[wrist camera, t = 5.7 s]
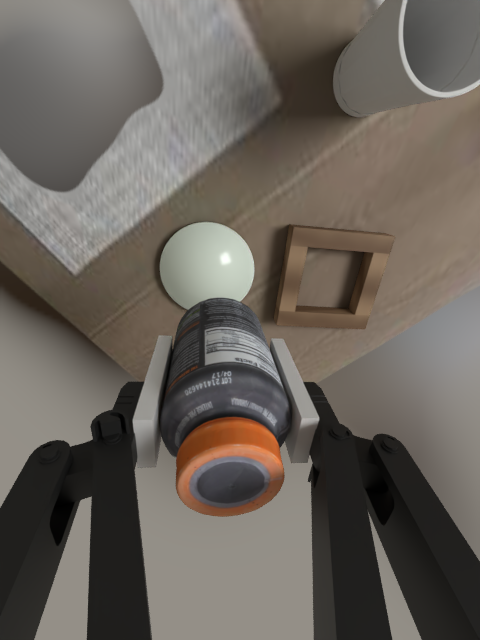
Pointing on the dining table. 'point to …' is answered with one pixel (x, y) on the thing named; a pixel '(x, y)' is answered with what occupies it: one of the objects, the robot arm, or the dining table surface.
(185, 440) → the pill bottle
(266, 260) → the dining table surface
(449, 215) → the dining table surface
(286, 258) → the open wooden frame
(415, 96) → the cup
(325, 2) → the dining table surface
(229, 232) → the pale green rounded part
